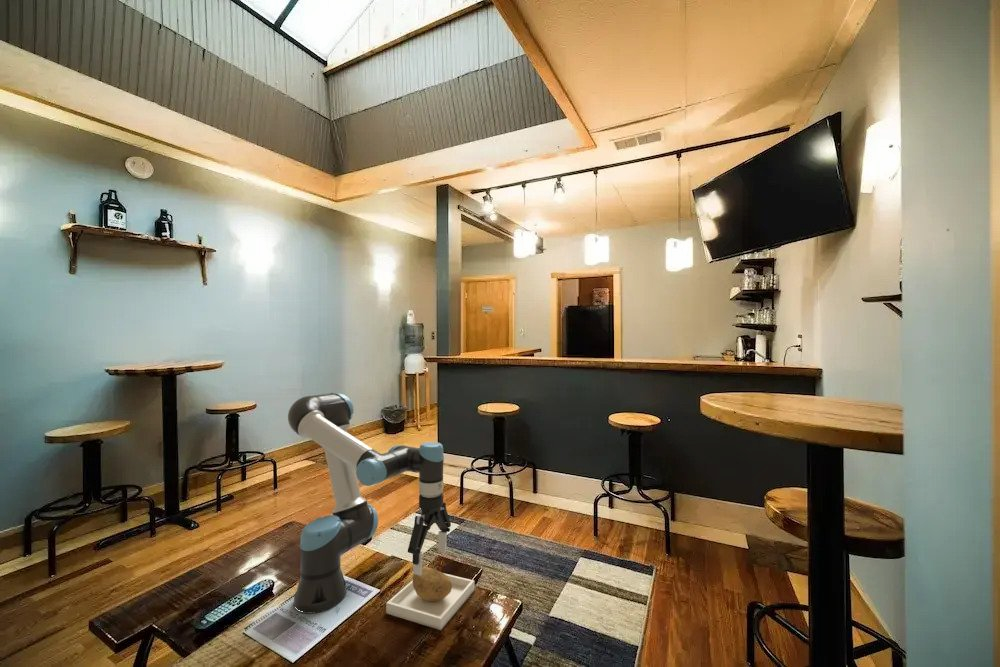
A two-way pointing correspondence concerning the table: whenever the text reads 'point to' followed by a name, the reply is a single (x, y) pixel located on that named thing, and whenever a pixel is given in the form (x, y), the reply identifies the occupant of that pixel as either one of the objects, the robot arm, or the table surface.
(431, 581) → the potato
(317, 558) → the robot arm
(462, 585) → the bin
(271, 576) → the table surface
